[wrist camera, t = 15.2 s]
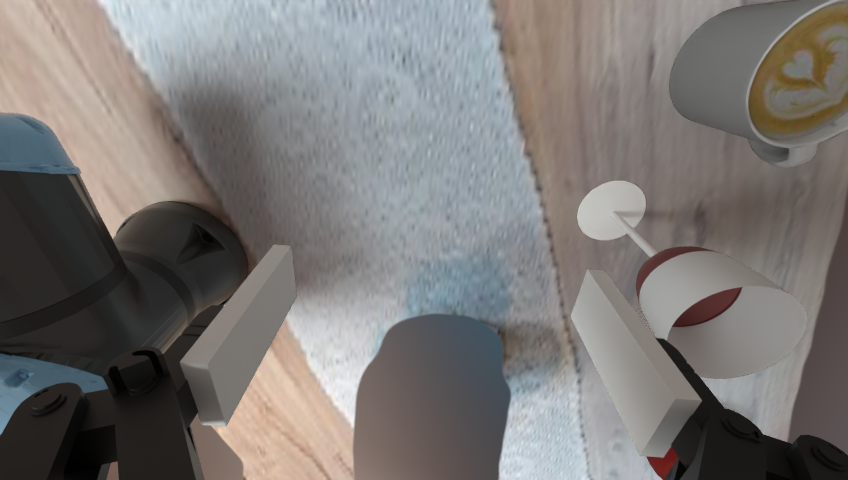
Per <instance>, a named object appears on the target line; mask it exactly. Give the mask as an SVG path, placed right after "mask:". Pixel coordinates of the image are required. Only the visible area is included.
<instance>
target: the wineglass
mask: <svg viewBox="0 0 848 480" xmlns="http://www.w3.org/2000/svg"><path fill="white" fill-rule="evenodd" d="M645 209H646V199H645V196H644V194H643V192H642V190H641V189H640V188H639V187H637V186H636V185H635V184H633V183H630V182H627V181H611V182H607V183H604V184H601V185H600V186H598V187H596V188H594V189H593V190H591V191H590V192H589V193H588V194H587V195H586V196H585V198H584V199H583V201H582V202H581V204H580V206H579V209H578V214H577V219H578V225H579V227H580V228H581V230H582V232H583V233H585V234H586V235H587V236H589V237H590V238H593V239H597V240H612V239H616V238H620V237H622V236H623V235H625V234H628V235H629V236H630V237H631V238H632V239H633V240H634V241H635V242H636V243H637V244H638V245H639V246H640V247H641V248H642V249H643V250H644V252H645V253H646V254H647V255H648V256H649V257H650V258H649V259H648V260H647V261H646V262H645V263H644V264H643V266H642V267H641V269H640V270H639V273H638V276H637V281H636V290H637V296H638V300H639V303H640V306H641V309H642V311H643V313H644V315H645V317H646V319H647V321H648V323H649V325H650V327H651V329H652V330H653V332H654V334H655V335H656V337H657V338H662V339H665V340H666V341H668V342H669V343H670V344H671V345H673V346H674V347H675V348H676V349H678V351H679V352H680V353H681V354H682V356H683V357H684V358H685V359H686V361H687V363H688V364H690V366H691V367H692V368H693V369H694V372H695V373H697V374H698V376H700V377H704V378H714V379H725V378H735V377H740V376H745V375H749V374H752V373H755V372H758V371H761V370H763V369H766V368H768V367H770V366H772V365H774V364H775V363H777V362H778V361H780V360H782V359H783V358H784V357H786V356H787V355H788V354H789V353H790V352H791V351H792V350H793V349H794V348H795V347H796V346H797V345H798V343H799V342H800V341H801V339H802V337H803V335H804V333H805V330H806V326H807V315H806V312H805V309H804V307H803V306H802V304H801V303H800V302H799V301H798V300H797V299H796V298H795V297H793V296H792V295H791V294H789V293H788V292H786V291H785V290H783V289H782V288H780V287H779V286H777V285H776V284H774V283H773V282H771V281H770V280H768V279H767V278H765V277H763V276H762V275H760V274H759V273H757V272H756V271H754V270H752V269H751V268H749V267H747V266H746V265H744V264H742V263H741V262H739V261H737V260H735V259H733V258H731V257H729V256H726V255H724V254H721V253H719V252H716V251H712V250H708V249H704V248H699V247H674V248H670V249H666V250H664V251H661V252H659V253H658V252H657V251H656V250H655V249H654V248H653V247H652V246H651V245H650V244H649V243H648V242H647V241H646V240H645V239H644V238H643V237H642V236H641V235H640V234H638V233H637V232H636V231H635V230H634V228H635V227H636V226H637V225H638V224H639V222H640V220H641V219H642V217H643V216H644V212H645Z"/></svg>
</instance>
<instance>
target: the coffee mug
mask: <svg viewBox="0 0 848 480" xmlns="http://www.w3.org/2000/svg"><path fill="white" fill-rule="evenodd" d="M669 89H670V96H671V99H672V102H673V104H674V106H675V108H676V109H677V110H678V112H679V113H680V114H681V115H682V116H684V117H685V118H687V119H689V120H691V121H694V122H697V123H701V124H704V125H707V126H710V127H713V128H716V129H720V130H723V131H726V132H729V133H732V134H736V135H739V136H742V137H745V138H748V140H749V143H750V145H751V147H752V150H753V151H754V152H755V153H756V154H757V155H758V156H759V157H760V158H761V159H762V160H764V161H766V162H768V163H769V164H772V165H775V166H779V167H796V166H799V165H802V164H804V163H806V162H808V161H810V160H811V159H812V158H813V157H814V156H815V154H816V152H817V148H818V143H821V142H823V141H826V140H828V139H830V138H833V137H835V136H837V135H839V134H840V133H842V132H844V131H846V130H848V0H790V1H782V2H774V3H766V4H758V5H750V6H742V7H736V8H733V9H730V10H727V11H724V12H722V13H720V14H718V15H716V16H715V17H713V18H711V19H710V20H708V21H707V22H705V23H704V24H703V25H702V26H700V27H699V28H698V29H697V30H696V31H695V32H694V33H693V34H692V35H691V36H690V38H689V39H688V40H687V41H686V43H685V44H684V45H683V47H682V48H681V50H680V52H679V53H678V55H677V57H676V59H675V62H674V65H673V68H672V70H671V75H670V84H669Z"/></svg>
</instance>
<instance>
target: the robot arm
mask: <svg viewBox="0 0 848 480" xmlns="http://www.w3.org/2000/svg"><path fill="white" fill-rule="evenodd" d="M79 174H81V171H80V169H79V168H78V167H76V166H74V164H73V163H72V161H71V159H70V158H69V156H68V155H67V153H66V151H65V150H64V148H63V147H62V145H61V143H60V141H59V140H58V138H57V136H56V135H55V133H54V132H53V131H52V130H51V129H50V128H49V127H48V126H47V125H46V124H44V123H43V122H41V121H39V120H37V119H35V118H33V117H30V116H27V115H23V114H17V113H0V434H1V436H0V480H106V479H107V475H108V471H109V468H110V464H111V463H112V462H116V461H118V472H119V480H204V476H203V472H202V468H201V464H200V461H199V457H198V453H197V449H196V445H195V441H194V437H193V434H192V430H191V427H190V424H191V422H192V421H193V419H194V418H195V416H196V414H197V413H198V416H199V419H200V422H201V424H202V425H213V426H227V424H228V422H229V420H230V418H231V417H232V415H233V413H234V411H235V409H236V407H237V406H238V404H239V402H240V400H241V398H242V396H243V395H244V393H245V391H246V389H247V387H248V385H249V384H250V382H251V380H252V378H253V376H254V374H255V372H256V371H257V369H258V367H259V365H260V363H261V361H262V360H263V358H264V356H265V354H266V352H267V350H268V349H269V347H270V345H271V343H272V341H273V339H274V338H275V336H276V334H277V332H278V330H279V328H280V326H281V325H282V323H283V321H284V319H285V317H286V315H287V314H288V312H289V310H290V308H291V306H292V304H293V303H294V301H295V299H296V297H297V291H296V282H295V273H294V265H293V256H292V248H291V246H289V245H276V244H274V245H273V246H272V247H271V248H270V250H269V251H268V252H267V253H266V255H265V256H264V257H263V258H262V260H261V261H260V262H259V263H258V265H257V266H256V267H255V268H254V270H253V271H252V272H251V273H250V275H249V276H248V277H247V273H248V264H247V259H246V255H245V252H244V250H243V248H242V246H241V244H240V242H239V241H238V239H237V238H236V236H235V235H234V234H233V233H232V232H231V231H230V229H229V228H228V227H226V226H225V225H224V224H223V223H222V222H221V221H219V220H218V219H217V218H215V217H214V216H212V215H211V214H209V213H207V212H205V211H203V210H201V209H199V208H196V207H194V206H191V205H187V204H183V203H177V202H160V203H155V204H152V205H149V206H147V207H145V208H143V209H141V210H140V211H138V212H136V213H134V214H133V215H131V216H130V217H128V218H127V219H126V220H125V221H124V222H123V223H122V225H121V226H120V228H119V229H118V231H117V233H116V236H115V237H114V238H113V239H112V237H111V235H110V233H109V231H108V230H107V228H106V226H105V224H104V222H103V220H102V218H101V216H100V214H99V212H98V210H97V208H96V206H95V204H94V202H93V200H92V198H91V196H90V194H89V192H88V190H87V188H86V186H85V184H84V182H83V180H82V179H81V177H80V175H79ZM225 304H226V305H225ZM224 305H225V306H224ZM571 319H572V321H573V323H574V325H575V327H576V329H577V331H578V333H579V335H580V337H581V339H582V341H583V343H584V345H585V347H586V349H587V351H588V353H589V355H590V357H591V359H592V361H593V363H594V365H595V367H596V369H597V371H598V373H599V375H600V377H601V379H602V381H603V383H604V385H605V387H606V389H607V391H608V393H609V395H610V397H611V399H612V401H613V403H614V405H615V407H616V409H617V411H618V413H619V415H620V417H621V419H622V421H623V423H624V425H625V427H626V429H627V431H628V433H629V435H630V437H631V439H632V441H633V443H634V445H635V447H636V449H637V451H638V453H639V455H640V456H649V457H663V458H664V456H665V455H666V453H667V452H668V450H669V449H670V447H671V446H672V447H673V449H674V451H675V453H676V454H677V456H678V459H677V461H676V462H675V464H674V465H673V466H672V468H671V469H670V471H669V472H668V473H667V475H666V476H665V479H666V480H669V479H670V480H848V455H847V454H845V453H844V452H843V451H842V450H840V449H839V448H837V447H836V446H834V445H833V444H831V443H829V442H827V441H825V440H823V439H820V438H818V437H814V436H810V435H800V436H799V437H798V438H797V439H796V440H795V441H794V443H793V444H791V443H788V442H785V441H782V440H779V439H776V438H772V437H769V436H766V435H763V434H762V432H761V431H760V430H759V428H758V427H757V426H755V425H754V424H753V423H752V422H751V421H750V420H748V419H747V418H745V417H744V416H742V415H741V414H739V413H736V412H734V411H732V410H729V409H725V408H724V407H723V406H722V405H721V403H720V402H719V401H718V400H717V398H716V397H715V396H714V395H713V393H712V392H711V391H710V390H709V388H708V387H707V386H706V385H705V383H704V382H703V381H702V379H701V378H700V377H699V376H698V374H697V373H695V372H694V369H693V368H692V367H691V366H690V364H688V363H687V361H686V359H685V358H684V357H683V356H682V354H681V353H680V352H679V351H678V349H676V348H675V347H674V346H673V345H671V344H670V343H669V342H668V341H666V340H665V339H662V338H655V337H654V336H653V334H652V333H651V332H650V330H649V329H648V328H647V326H646V325H645V324H644V322H643V321H642V320H641V318H640V317H639V316H638V314H637V313H636V312H635V310H634V309H633V308H632V306H631V305H630V304H629V302H628V301H627V300H626V298H625V297H624V296H623V294H622V293H621V292H620V290H619V289H618V288H617V286H616V285H615V284H614V282H613V281H612V280H611V278H610V277H609V276H608V274H607V273H606V272H605V270H593V269H587V272H586V275H585V277H584V280H583V283H582V286H581V289H580V291H579V294H578V297H577V300H576V303H575V306H574V308H573V311H572V314H571Z"/></svg>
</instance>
